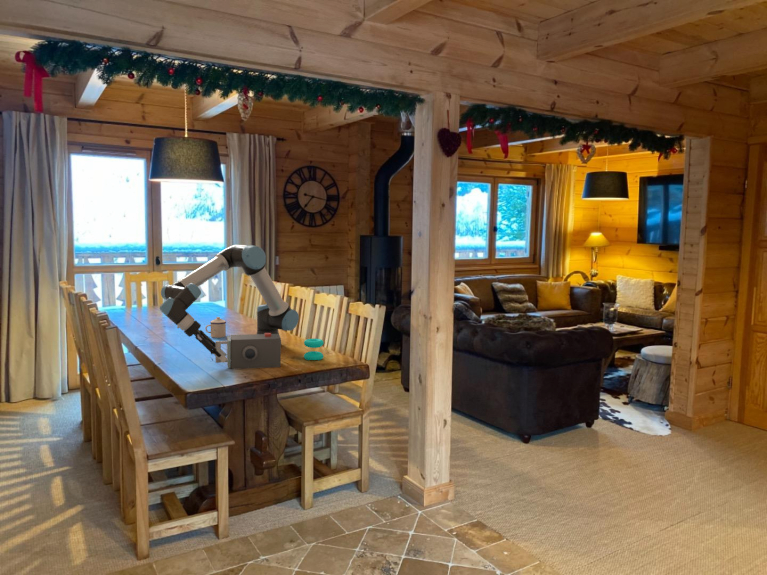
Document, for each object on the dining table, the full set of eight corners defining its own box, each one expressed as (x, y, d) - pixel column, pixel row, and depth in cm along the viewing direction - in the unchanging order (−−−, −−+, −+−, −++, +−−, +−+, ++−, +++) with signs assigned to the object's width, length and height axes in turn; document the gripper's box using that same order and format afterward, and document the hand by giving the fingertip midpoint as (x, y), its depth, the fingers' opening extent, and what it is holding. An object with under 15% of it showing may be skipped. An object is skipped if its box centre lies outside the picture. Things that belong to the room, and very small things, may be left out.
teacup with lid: (224, 334, 370) (224, 315, 368) (227, 337, 362) (227, 317, 361) (203, 335, 364) (203, 316, 363) (207, 338, 356) (207, 318, 355)
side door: (215, 362, 298) (215, 336, 297) (229, 361, 300) (229, 335, 299) (215, 368, 286) (215, 341, 285) (230, 367, 288) (230, 340, 287)
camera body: (230, 363, 300) (230, 332, 298) (277, 361, 306) (278, 331, 304) (231, 370, 286) (231, 338, 285) (281, 368, 292) (281, 336, 291)
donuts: (308, 337, 318) (326, 338, 315) (308, 356, 319) (326, 357, 316) (300, 340, 308) (319, 342, 306) (300, 360, 309) (319, 362, 307)
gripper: (184, 327, 292) (218, 359, 298) (182, 335, 273) (219, 369, 279) (195, 316, 293) (230, 348, 299) (194, 323, 274) (231, 357, 280)
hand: (225, 358), depth 289 cm, fingers open, 7 cm apart
